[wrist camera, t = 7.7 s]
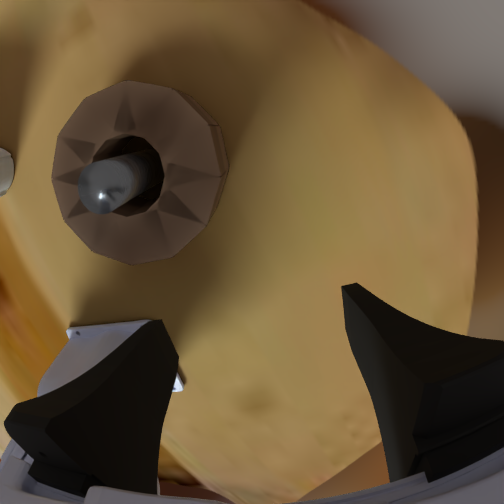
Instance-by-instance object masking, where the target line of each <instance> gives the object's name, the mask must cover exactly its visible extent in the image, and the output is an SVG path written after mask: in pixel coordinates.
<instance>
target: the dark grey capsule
mask: <svg viewBox="0 0 504 504" xmlns="http://www.w3.org/2000/svg"><path fill="white" fill-rule="evenodd" d="M164 177H165V174H164V170H163V166H162V162H161V158H160V154H159V153H158V152H157V151H156V150H155V149H147V150H142V151H138V152H133V153H129V154H125V155H121V156H117V157H113V158H109V159H105V160H101V161H97V162H93V163H91V164H89V165H87V166H86V167H85V168H84V169H83V171H82V172H81V174H80V177H79V180H78V194H79V197H80V199H81V201H82V203H83V205H84V206H85V207H86V208H87V209H88V210H89V211H91V212H93V213H96V214H107V213H110V212H112V211H113V210H115V209H116V208H118V207H120V206H121V205H123V204H124V203H126V202H128V201H129V200H131V199H133V198H134V197H136V196H138V195H139V194H141V193H143V192H145V191H146V190H148V189H150V188H151V187H153V186H155V185H157V184H158V183H160V182H161V181H163V180H164Z"/></svg>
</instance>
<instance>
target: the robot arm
mask: <svg viewBox="0 0 504 504" xmlns="http://www.w3.org/2000/svg"><path fill="white" fill-rule="evenodd" d="M341 288H342V297H343V307H344V318H345V329H346V332H347V336H348V340H349V343H350V346H351V350H352V352H353V355H354V357H355V359H356V362H357V364H358V367H359V369H360V371H361V374H362V376H363V378H364V381H365V383H366V386H367V388H368V390H369V393H370V396H371V399H372V402H373V405H374V409H375V413H376V416H377V420H378V424H379V429H380V433H381V437H382V442H383V446H384V451H385V456H386V462H387V467H388V473H389V479H390V483H387V484H384V485H380V486H377V487H373V488H369V489H366V490H361V491H357V492H352V493H348V494H343V495H338V496H333V497H328V498H322V499H315V500H309V501H302V502H293V503H284V504H504V341H501V340H491V339H481V338H475V337H469V336H465V335H460V334H456V333H452V332H448V331H445V330H442V329H439V328H436V327H433V326H430V325H428V324H425V323H423V322H421V321H419V320H416V319H414V318H412V317H410V316H408V315H406V314H404V313H402V312H401V311H399V310H397V309H395V308H393V307H392V306H390V305H389V304H387V303H385V302H384V301H382V300H381V299H379V298H378V297H376V296H375V295H373V294H372V293H371V292H369V291H368V290H366V289H365V288H364V287H362V286H361V285H359V284H358V283H353V284H349V285H344V286H341ZM142 325H143V326H142ZM66 333H67V335H68V337H69V339H70V340H69V341H68V342H67V344H66V345H65V346H64V348H63V349H62V350H61V352H60V353H59V355H58V356H57V357H56V359H55V360H54V361H53V363H52V364H51V366H50V367H49V368H48V370H47V371H46V373H45V374H44V375H43V377H42V379H41V381H40V384H39V387H38V396H37V397H36V398H33V399H30V400H27V401H24V402H21V403H17V404H16V405H15V406H14V407H13V409H12V410H11V412H10V413H9V415H8V416H7V418H6V419H5V421H4V426H5V429H6V431H7V432H8V434H9V435H10V436H11V438H12V439H11V441H10V442H9V444H8V446H7V448H6V449H5V451H4V453H3V455H2V457H1V459H2V461H1V463H0V504H227V503H223V502H219V501H214V500H205V499H196V498H184V497H172V496H162V495H160V486H159V482H158V477H157V474H158V458H159V447H160V440H161V433H162V427H163V422H164V418H165V415H166V411H167V408H168V405H169V401H170V398H171V394H172V392H177V391H183V389H184V385H183V383H182V381H181V379H180V377H179V375H178V373H177V369H178V361H179V356H178V354H177V352H176V350H175V348H174V345H173V343H172V341H171V339H170V337H169V335H168V333H167V330H166V328H165V326H164V324H163V322H162V319H161V320H154V321H152V320H139V321H130V322H121V323H112V324H102V325H91V326H80V327H69V328H68V329H67V330H66Z"/></svg>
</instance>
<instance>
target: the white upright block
mask: <svg viewBox="0 0 504 504" xmlns="http://www.w3.org/2000/svg"><path fill="white" fill-rule="evenodd" d="M13 176H14V163H13V159H12V158H11V154H10V153H9V152H7V151H6V150H4V149H2V148H0V197H1V196H3V195H5V194H6V192H7V189H8V188H9V187H10V185H11V183H12V180H13Z"/></svg>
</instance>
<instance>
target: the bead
mask: <svg viewBox="0 0 504 504" xmlns="http://www.w3.org/2000/svg"><path fill="white" fill-rule="evenodd" d="M135 136H139V137H143V138H145V139H146V140H147V141H148V142H149V143H150V144H151V145H152V146H153V147H154V149H155V150H156V151H157V152H158V153H159V154H160V158H161V162H162V166H163V170H164V174H165V177H164V181H163V185H162V190H161V194H160V197H159V198H157V199H153V200H149V199H145V198H142V197H139V196H136V197H134V198H133V199H131V200H129V201H128V202H126V203H124V204H123V205H121V206H120V207H118V208H116V209H115V210H113V211H112V212H110V213H107V214H96V213H93V212H91V211H89V210H88V209H87V208H86V207H85V206H84V205H83V203H82V201H81V199H80V197H79V194H78V180H79V177H80V174H81V172H82V171H83V169H84V168H85V167H86V166H87V165H89V164H91V163H93V162H97V161H101V160H105V159H109V158H113V157H117V156H121V155H122V151H123V149H124V148H125V147H126V146H127V144H128V143H129V142H130V141H131V140H132V139H133V138H134V137H135ZM228 170H229V163H228V159H227V154H226V150H225V146H224V141H223V137H222V133H221V128H220V126H219V124H218V123H217V122H216V121H215V120H214V119H213V118H212V117H211V116H210V115H209V114H208V113H207V112H206V111H205V110H204V109H203V108H202V107H201V106H200V105H199V104H198V103H197V102H196V101H195V100H194V99H193V98H192V97H191V96H189V95H187V94H184V93H182V92H180V91H177V90H175V89H173V88H169V87H164V86H159V85H153V84H148V83H142V82H137V81H131V80H125V81H122V82H120V83H117V84H115V85H113V86H110V87H108V88H106V89H103V90H101V91H99V92H97V93H95V94H92V95H90V96H88V97H86V98H85V99H84V100H83V101H82V102H81V104H80V105H79V106H78V107H77V109H76V110H75V112H74V113H73V114H72V116H71V117H70V118H69V120H68V121H67V123H66V124H65V125H64V127H63V128H62V130H61V131H60V133H59V135H58V138H57V144H56V149H55V156H54V162H53V169H52V177H51V178H52V183H53V187H54V190H55V194H56V197H57V201H58V204H59V207H60V210H61V213H62V217H63V220H65V223H66V224H67V225H68V226H69V227H70V228H71V229H72V230H73V231H74V233H75V234H76V235H77V236H78V237H79V238H80V239H81V240H82V241H83V242H84V243H85V244H86V245H87V247H88V248H89V249H90V250H91V251H93V252H95V253H97V254H100V255H103V256H106V257H108V258H111V259H114V260H117V261H120V262H123V263H126V264H128V265H137V264H142V263H147V262H152V261H157V260H162V259H167V258H172V257H174V256H175V255H176V254H177V253H178V252H179V251H180V250H181V249H182V248H183V247H185V246H186V245H187V244H188V243H189V242H190V241H191V240H192V239H193V238H194V237H195V236H196V235H197V234H199V233H200V232H201V231H202V230H203V229H204V228H205V227H206V226H207V224H208V222H209V221H210V219H211V217H212V215H213V213H214V212H215V210H216V208H217V206H218V203H219V199H220V196H221V193H222V190H223V186H224V183H225V180H226V177H227V173H228Z"/></svg>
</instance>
